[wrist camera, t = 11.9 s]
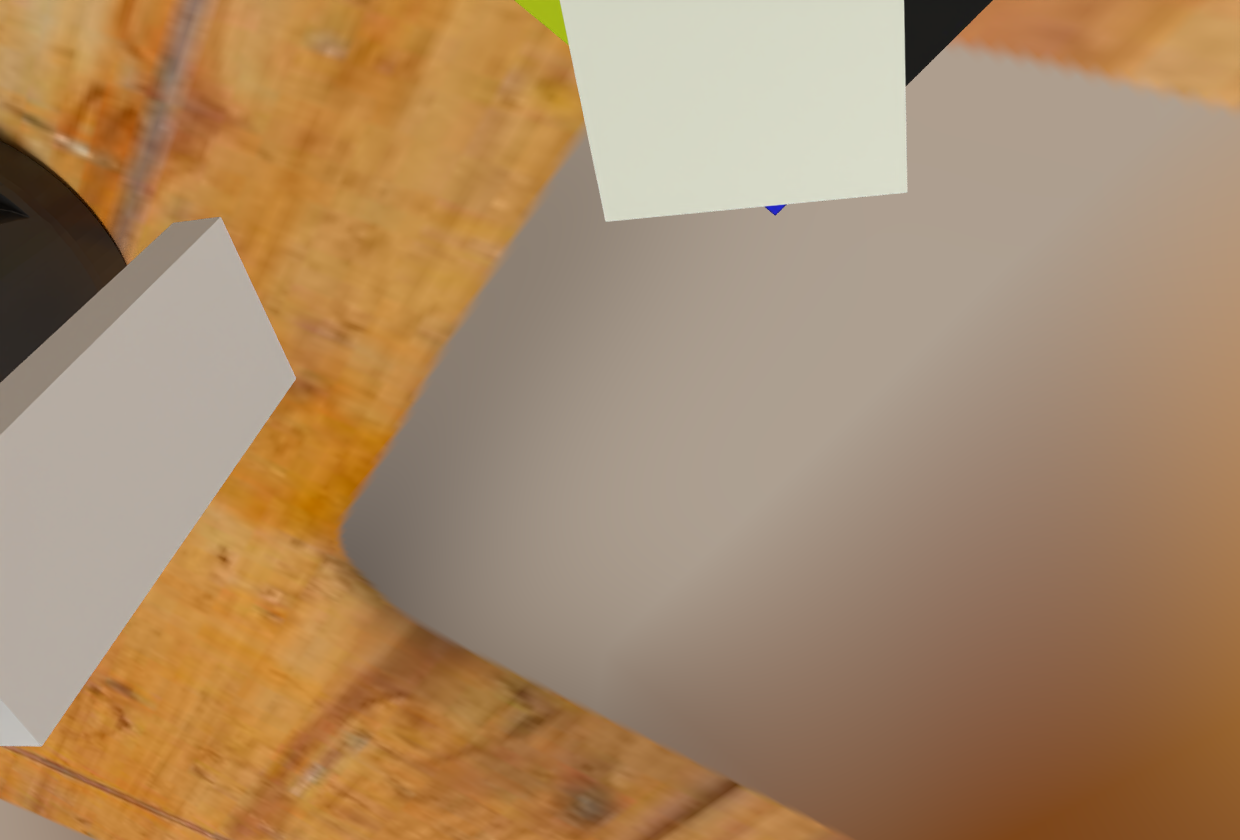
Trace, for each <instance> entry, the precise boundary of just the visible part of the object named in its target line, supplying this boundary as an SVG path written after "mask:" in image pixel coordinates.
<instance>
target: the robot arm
mask: <svg viewBox="0 0 1240 840" xmlns="http://www.w3.org/2000/svg"><path fill="white" fill-rule="evenodd" d="M295 379H296V377H295V375H294V373H293V371H292V369H291V366H290V364H289V362H288V360H287V358H286V356H285V354H284V351H283V349H282V347H281V345H280V343H279V341H278V339H277V336H276V334H275V332H274V330H273V328H272V326H271V324H270V321H269V319H268V317H267V315H266V313H265V311H264V309H263V306H262V304H261V302H260V300H259V298H258V296H257V294H256V291H255V289H254V287H253V285H252V283H251V281H250V279H249V276H248V274H247V272H246V270H245V268H244V266H243V264H242V261H241V259H240V257H239V255H238V253H237V251H236V249H235V246H234V244H233V242H232V240H231V238H230V236H229V234H228V231H227V229H226V227H225V225H224V223H223V221H222V218H221V217H215V218H208V219H200V220H192V221H185V222H177V223H173V224H171V225H170V226H169V227H168V228H167V229H166V230H165V231H164V232H163V233H162V234H161V235H160V236H159V237H157V238H156V239H155V240H154V241H153V242H152V243H151V244H150V245H149V246H148V247H147V248H146V249H144V250H143V251H142V252H141V253H140V254H139V255H138V256H137V257H136V258H135V259H134V260H133V261H131V262H130V263H129V264H128V265H127V266H126V264H125V262H124V260H123V258H122V256H121V255H120V253H119V251H118V249H117V248H116V246H115V244H114V243H113V241H112V240H111V238H110V237H109V235H108V234H107V232H106V231H105V230H104V228H103V227H102V226H101V224H100V223H99V222H98V220H97V219H96V218H95V217H94V216H93V214H92V213H91V212H90V211H89V210H88V209H87V208H86V206H85V205H84V204H83V203H82V202H81V201H80V200H79V199H78V198H77V197H76V196H75V195H74V194H73V193H72V192H71V191H70V190H69V189H68V188H67V187H66V186H64V185H63V184H62V183H61V182H60V181H59V180H58V179H56V178H55V177H54V176H53V175H52V174H50V173H49V172H48V171H47V170H45V169H44V168H43V167H41V166H40V165H39V164H37V163H36V162H34V161H33V160H31V159H30V158H28V157H27V156H26V155H24V154H22V153H21V152H19V151H17V150H16V149H14V148H13V147H11V146H9V145H7V144H5V143H3V142H2V141H0V746H42V745H43V744H44V742H45V741H46V739H47V738H48V736H49V735H50V734H51V732H52V731H53V729H54V728H55V726H56V725H57V723H58V722H59V721H60V719H61V718H62V716H63V715H64V713H65V712H66V710H67V709H68V708H69V706H70V705H71V703H72V702H73V700H74V699H75V697H76V696H77V695H78V693H79V692H80V690H81V689H82V687H83V686H84V684H85V683H86V682H87V680H88V679H89V677H90V676H91V674H92V673H93V671H94V670H95V669H96V667H97V666H98V664H99V663H100V661H101V660H102V658H103V657H104V656H105V654H106V653H107V651H108V650H109V648H110V647H111V645H112V644H113V642H114V641H115V640H116V638H117V637H118V635H119V634H120V632H121V631H122V629H123V628H124V627H125V625H126V624H127V622H128V621H129V619H130V618H131V616H132V615H133V614H134V612H135V611H136V609H137V608H138V606H139V605H140V603H141V602H142V601H143V599H144V598H145V596H146V595H147V593H148V592H149V590H150V589H151V588H152V586H153V585H154V583H155V582H156V580H157V579H158V577H159V576H160V575H161V573H162V572H163V570H164V569H165V567H166V566H167V564H168V563H169V562H170V560H171V559H172V557H173V556H174V554H175V553H176V551H177V550H178V549H179V547H180V546H181V544H182V543H183V541H184V540H185V538H186V537H187V535H188V534H189V533H190V531H191V530H192V528H193V527H194V525H195V524H196V522H197V521H198V520H199V518H200V517H201V515H202V514H203V512H204V511H205V509H206V508H207V507H208V505H209V504H210V502H211V501H212V499H213V498H214V496H215V495H216V494H217V492H218V491H219V489H220V488H221V486H222V485H223V483H224V482H225V481H226V479H227V478H228V476H229V475H230V473H231V472H232V470H233V469H234V468H235V466H236V465H237V463H238V462H239V460H240V459H241V457H242V456H243V455H244V453H245V452H246V450H247V449H248V447H249V446H250V444H251V443H252V442H253V440H254V439H255V437H256V436H257V434H258V433H259V431H260V430H261V429H262V427H263V426H264V424H265V423H266V421H267V420H268V418H269V417H270V415H271V414H272V413H273V411H274V410H275V408H276V407H277V405H278V404H279V402H280V401H281V400H282V398H283V397H284V395H285V394H286V392H287V391H288V389H289V388H290V387H291V385H292V384H293V382H294V381H295Z"/></svg>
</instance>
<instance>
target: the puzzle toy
mask: <svg viewBox="0 0 1240 840" xmlns="http://www.w3.org/2000/svg"><path fill="white" fill-rule="evenodd" d="M515 1H516V2H517V3H518V4H520V5H521V6H522V7H523V8H524V9H526V10H527V11H528V12H529V13H530V14H532V15H533V16H534V17H535V18H536V19H538V20H539V21H540V22H541V23H543V24H544V25H545V26H546V27H547V28H549V29H550V30H551V31H552V32H553V33H555V34H556V35H557V36H558V37H559V38H561V39H562V40H563V41H564V42H566V43H567V44H568V45H569V43H568V38H567V33H566V28H565V23H564V19H563V14H562V9H561V4H560V0H515ZM991 1H992V0H904V29H905V87H906V86H907V85H908V83H910V82H911V81H912V80H913V79H914V78H915V77H916V76H917V75H918V74H919V73H920V72H921V71H922V70H923V69H924V68H925V67H926V66H927V65H928V64H929V63H930V62H931V61H932V60H933V59H934V58H935V57H936V56H937V55H938V54H939V53H940V52H941V51H942V50H943V49H944V48H945V47H946V46H947V45H948V44H949V43H950V42H951V41H952V40H953V39H954V38H955V37H956V36H957V35H958V34H959V33H960V32H961V31H962V30H963V29H964V28H965V27H966V26H967V25H968V24H969V23H970V22H971V21H972V20H973V19H974V18H975V17H976V16H977V15H978V14H979V13H980V12H981V11H982V10H983V9H984V8H985V7H986V6H987V5H988V4H989V3H990V2H991ZM785 205H787V204H784V205H773V206H764V207H766V208H767V209H768V210H769V211H770V212H771V213H773V214H774V215H776V214H777V213H778V212H780V211H781V210H782V208H783V207H784V206H785Z"/></svg>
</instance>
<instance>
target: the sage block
mask: <svg viewBox="0 0 1240 840" xmlns="http://www.w3.org/2000/svg"><path fill="white" fill-rule="evenodd" d="M560 4H561V9H562V14H563V19H564V23H565V28H566V33H567V38H568V43H569V48H570V52H571V57H572V62H573V67H574V72H575V76H576V81H577V86H578V91H579V96H580V101H581V105H582V110H583V115H584V120H585V125H586V130H587V134H588V139H589V144H590V149H591V154H592V158H593V163H594V168H595V173H596V177H597V183H598V187H599V192H600V197H601V201H602V207H603V211H604V216H605V221H606V222H607V221H618V220H628V219H638V218H649V217H659V216H670V215H680V214H689V213H701V212H711V211H721V210H732V209H742V208H753V207H762V206H773V205H784V204H794V203H804V202H814V201H825V200H835V199H845V198H856V197H866V196H877V195H887V194H897V193H907V150H906V149H907V148H906V88H905V29H904V0H560Z"/></svg>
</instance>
